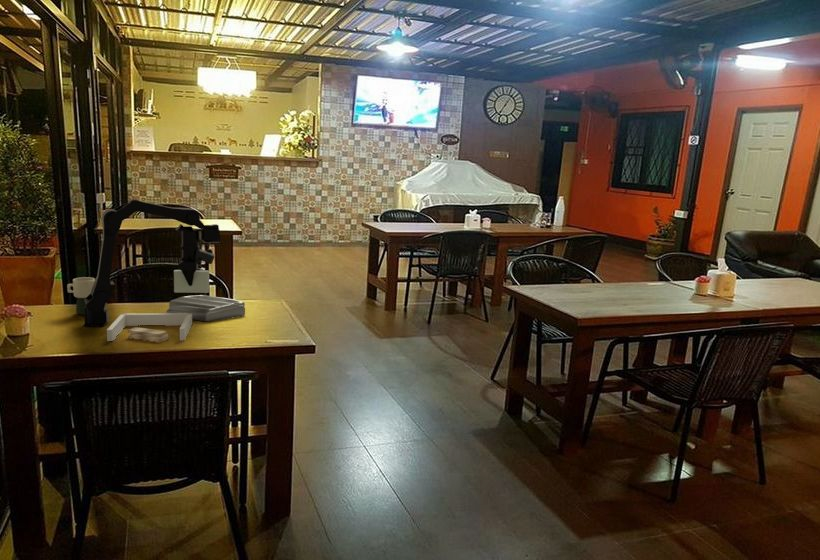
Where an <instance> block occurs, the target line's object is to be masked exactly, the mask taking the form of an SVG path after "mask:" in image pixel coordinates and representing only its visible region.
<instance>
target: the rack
mask: <svg viewBox="0 0 820 560" xmlns="http://www.w3.org/2000/svg"><path fill="white" fill-rule="evenodd" d="M138 325H139V326H138ZM140 325H165V326H180V327H179V341H180V342H184V341H183V340H185V341H186V339H187V337H188V335H189V332H190V330H191V328H192V326H191V325H193V320H192V313H167V312H166V313H165V312H164V313H163V312H162V313H161V312H160V313H159V312H158V313H153V312H152V313H149V312H148V313H144V312H143V313H121V314H120V315H119V316H118V317H117V318H116V319H115V320H114V321H113V322H112V323H111V325H110V326H108V328H107V329H106V341H113V340H114V341H115V340H116V338H117V337H118V336H119V335H118V334H121V332H122V331H124V329H125V327H137V326H138V327H140ZM123 328H124V329H123ZM187 334H188V335H187ZM117 335H118V336H117ZM116 336H117V337H116ZM186 336H187V337H186ZM114 341H113V342H114Z"/></svg>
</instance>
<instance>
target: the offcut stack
mask: <svg viewBox="0 0 820 560" xmlns="http://www.w3.org/2000/svg"><path fill="white" fill-rule="evenodd" d="M127 334H130V335H128V336H127V338H128V339H132V338H134V339H133V340H139V339H143V340H142V341H146V340H150V341H149V342H153V341H156V342H155V343H160V342H161V343H163V342H165V341H168V340H169V334H168V333H167V330H159V329H152V328H145V327H139V326H138V327H137V326H134V327H132V328H130V329H127ZM167 339H168V340H167ZM162 341H163V342H162Z"/></svg>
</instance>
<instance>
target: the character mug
mask: <svg viewBox="0 0 820 560" xmlns="http://www.w3.org/2000/svg"><path fill="white" fill-rule="evenodd" d="M95 279H96V277H95V278H94V277H91V276H90V277H89V276H88V277H86V276H82V277H76V278H73V279H72V283H68V284H67V286H66V288H67V289H66V290H67V293H69V294H73V297H75V298H76V305H75V313H76V314H79V315H84V307H85V306H86V303H85V298H86V297H87V296H88V295H89V294H90V293H91V290H92V287H93V284H94V281H95ZM71 287H72V289H73V290H72V289H71Z"/></svg>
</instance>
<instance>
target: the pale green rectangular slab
mask: <svg viewBox="0 0 820 560" xmlns="http://www.w3.org/2000/svg"><path fill="white" fill-rule="evenodd" d="M173 287H174V288H173V292H174V293H183V294H184V293H187V294H188V293H196V294H197V293H200V294H201V293H203V294H206V293H210V270H199V269H198V270H196V271H195V272H194V278H193V283H192V286H189V285H188V283H187V281H186V279H185V277H184V275H183V273H182V271H181V270H178V269H174V270H173Z"/></svg>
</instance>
